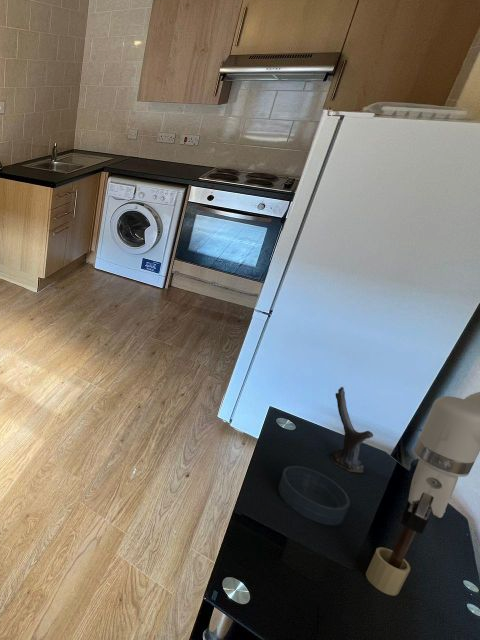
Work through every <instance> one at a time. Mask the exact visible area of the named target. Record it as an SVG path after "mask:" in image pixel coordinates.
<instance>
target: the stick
mask: <svg viewBox="0 0 480 640" xmlns="http://www.w3.org/2000/svg"><path fill="white" fill-rule="evenodd" d="M414 507H418V506H417V505H415V506H414ZM416 533H417V532H416V531H414V530H412V529H410V528H408V527H406V526H404V525H403V527H402V529H401V531H400V534H399V537H398V538H397V540H396V543H395V545H394V547H393V549H392V551H393V552H392V554H391V556H390V558H389V561H388V564H390V565H392V566H393V567H395V568H398V569H399V568H400V566H401V564H402V561H403V559H405V557H406V555H407V552H408V550H409V548H410V546H411V544H412V542H413V539H414V537H415V535H416Z"/></svg>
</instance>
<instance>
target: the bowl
mask: <svg viewBox="0 0 480 640" xmlns="http://www.w3.org/2000/svg"><path fill="white" fill-rule="evenodd" d="M277 489H278V493H279V495H280V497H281V498H282V499H283V501H284V502H285V504H287V505H288V506H289V507H290V508H291V509H292V510H293V511H294V512H297V513H298V514H300V515H301V516H302V517H304V518H306V519H309V520H310V521H313V522H315V523H318V524H322V525H327V526H338V525H341V524H342V523H343V522H344V520H345V518H346V516H347V513H348V510H349V508H350V505H351V500H350V498H349V496H348V495H349V494H348V493H347V492H346V490H344V489H343V488H342V486H341V485H339V484H338V483H337V482H336V481H335V480H333V479H332V478H330V477H328V476H326V475H325V474H323V473H321V472H319V471H317V470H314V469H312V468H309V467H305V466H300V465H289V466H287V467H285V468H284V469H283V471H282V474H281V476H280V480H279V483H278V487H277Z"/></svg>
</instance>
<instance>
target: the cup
mask: <svg viewBox="0 0 480 640" xmlns="http://www.w3.org/2000/svg"><path fill="white" fill-rule="evenodd" d="M392 552H393V549H389V548H387V547H383V546H380V547H377V548H376V549H375V551H374V553H373V556H372V558H371V560H370V563H369V565H368V567H367V569H366V570H365V577H366V579H367V581H368V582H369V583H370V584H371V585H372V586H373V587H374V588H375V589H377V590H378V591H380V592H381V593H384V594H386V595H388V596H394V597H395V596H397V595H399V593H400V591H401V589H402V587H403V585H404V584H405V582H406V580H407V577H408V576H409V574H410V572H411V566H410V564H409V562H408V561H407V560H406V558H404V559H403V561H402V564H401V566H400V568H399V569H398V568H395V567H393V566H392V565H390V564H388V561H389V558H390V556H391V554H392Z"/></svg>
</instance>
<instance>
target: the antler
mask: <svg viewBox="0 0 480 640" xmlns="http://www.w3.org/2000/svg"><path fill="white" fill-rule="evenodd" d="M344 388H345V387H344V386H341V387H340V388H338V390H337V392H335V395H334V396H335V399H336V402H337V411H338V415H339V417H340V421H341V423H342V426H343V430H344V431H343V432H344V439H343V448H338V450H337V451H335V453H332V454H331V459H330V460H331V462H332V463H333V464H335V465H337V466H338V467H340V468H342V469H344V470H346V471H348V472H351V473H364V467H365V466H364V465H363V464H362V461H361V460H359V455H360V446H361V444H362V443H363V442H365V441H366V440H367V439H371V438H373V437H374V434H373V432H371V431H370V430H366V431H362V432H358V431H357V430H356V429H355V428H354V426H353V423H352V420H351V418H350V414H349V411H348V407H347V401H346V392H345V389H344Z"/></svg>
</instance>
